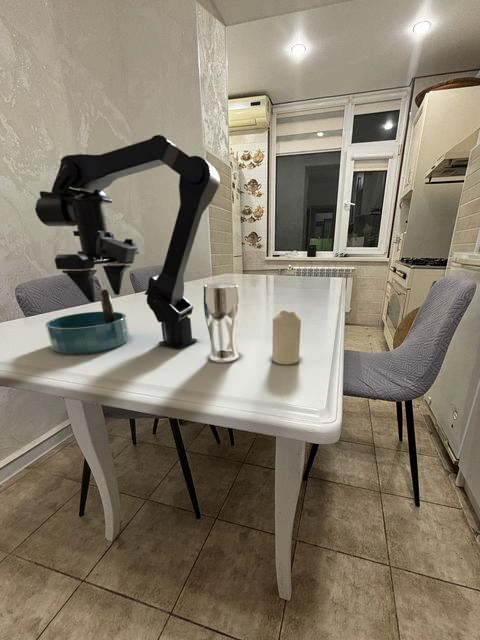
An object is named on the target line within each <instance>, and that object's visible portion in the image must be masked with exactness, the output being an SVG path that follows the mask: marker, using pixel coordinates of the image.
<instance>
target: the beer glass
mask: <svg viewBox="0 0 480 640" xmlns="http://www.w3.org/2000/svg"><path fill="white" fill-rule="evenodd" d="M239 298H240V297H239V290H238V284H236V283H232V282H231V283H230V282H217V283H215V282H214V283H206V284H203V312H204V318H205V323H206V326H207V330H208V334H209V340H210V348H209V359H210V360H211V361H212V362H216V363H229V362H233V361H236V360H237V359H238V358H239V356H240V355H239V351H238V350H239V349H238V346H237V333H238V326H239V317H240V299H239Z"/></svg>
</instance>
